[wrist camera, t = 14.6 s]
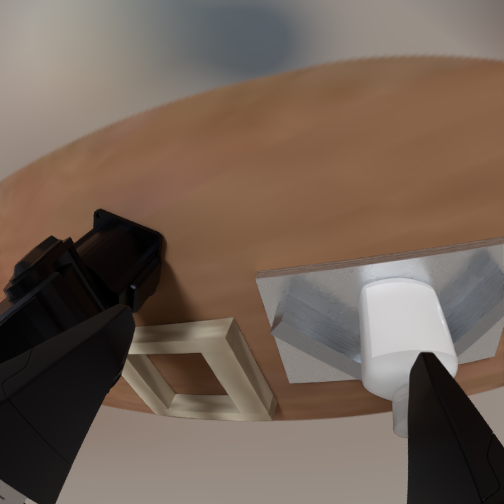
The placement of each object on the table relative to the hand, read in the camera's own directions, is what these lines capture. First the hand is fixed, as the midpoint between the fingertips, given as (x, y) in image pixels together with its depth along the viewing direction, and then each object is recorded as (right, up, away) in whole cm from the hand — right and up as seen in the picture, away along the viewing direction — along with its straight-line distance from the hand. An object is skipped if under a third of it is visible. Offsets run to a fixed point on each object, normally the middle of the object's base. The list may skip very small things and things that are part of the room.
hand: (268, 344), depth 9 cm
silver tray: (+11, -3, +14) cm, 18 cm away
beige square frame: (-7, -10, +23) cm, 26 cm away
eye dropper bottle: (+10, 0, +12) cm, 16 cm away
